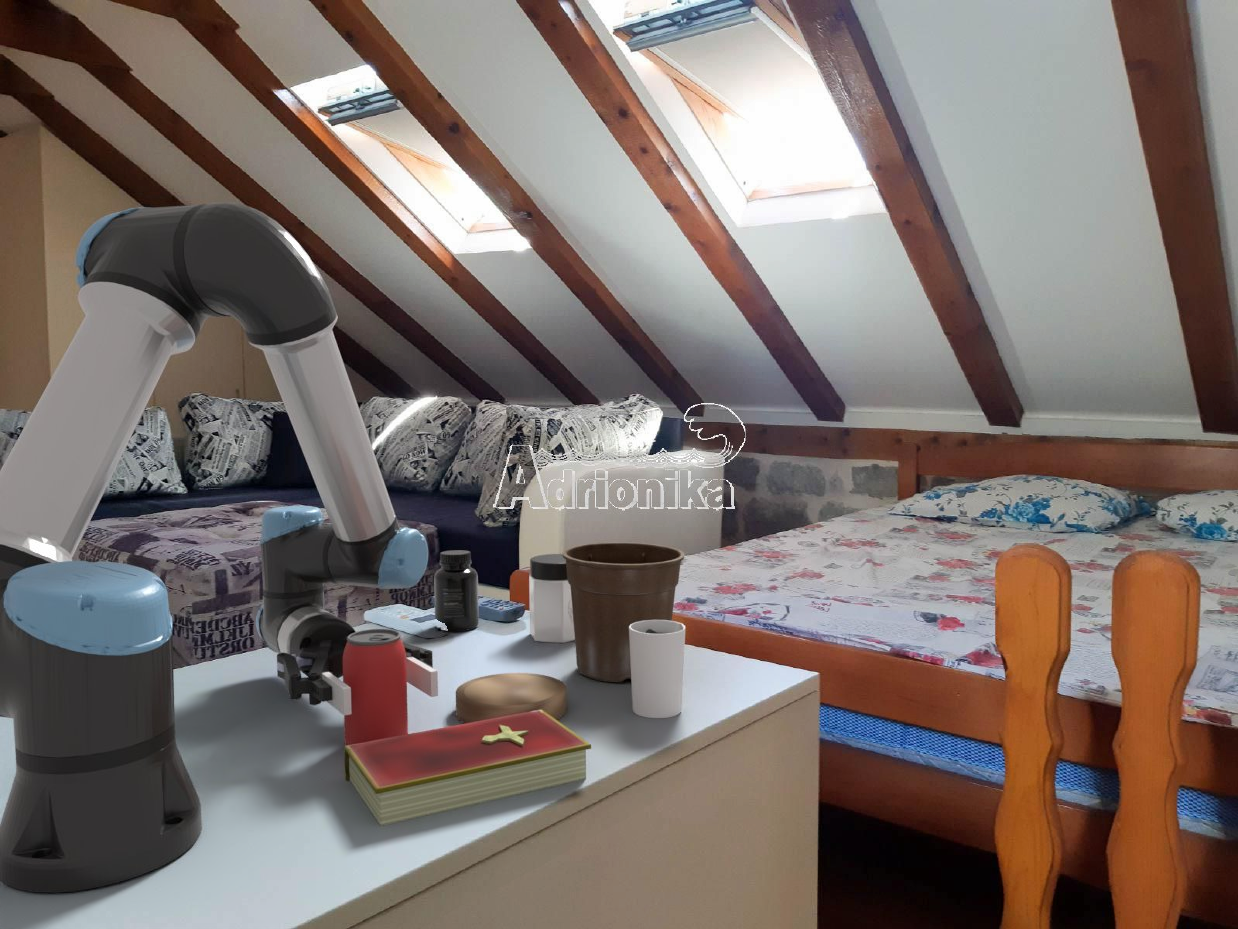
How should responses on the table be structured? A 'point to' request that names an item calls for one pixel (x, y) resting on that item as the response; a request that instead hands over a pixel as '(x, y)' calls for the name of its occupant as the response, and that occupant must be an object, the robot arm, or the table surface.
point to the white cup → (657, 667)
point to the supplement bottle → (456, 591)
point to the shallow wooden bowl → (510, 696)
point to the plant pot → (617, 600)
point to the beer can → (375, 685)
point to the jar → (550, 600)
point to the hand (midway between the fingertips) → (392, 692)
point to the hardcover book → (463, 765)
